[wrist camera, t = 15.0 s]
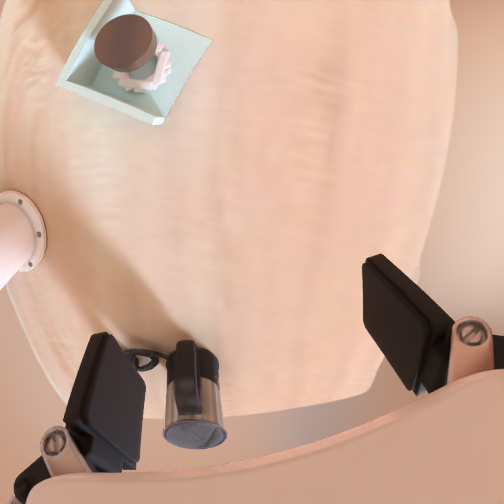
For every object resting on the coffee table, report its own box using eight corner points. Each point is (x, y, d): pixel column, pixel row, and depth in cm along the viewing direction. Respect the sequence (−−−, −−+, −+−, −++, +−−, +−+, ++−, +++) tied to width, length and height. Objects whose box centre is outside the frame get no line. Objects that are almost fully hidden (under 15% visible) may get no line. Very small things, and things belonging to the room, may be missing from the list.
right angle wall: (162, 124, 32) (151, 124, 25) (81, 90, 27) (54, 85, 21) (212, 40, 28) (214, 21, 21) (129, 8, 24) (113, -14, 17)
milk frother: (226, 374, 50) (236, 443, 37) (151, 393, 50) (146, 458, 37) (194, 317, 44) (195, 394, 30) (110, 343, 44) (91, 414, 30)
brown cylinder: (100, 74, 22) (89, 70, 19) (108, 25, 19) (99, 17, 17) (153, 71, 23) (147, 66, 20) (161, 22, 20) (156, 12, 18)
